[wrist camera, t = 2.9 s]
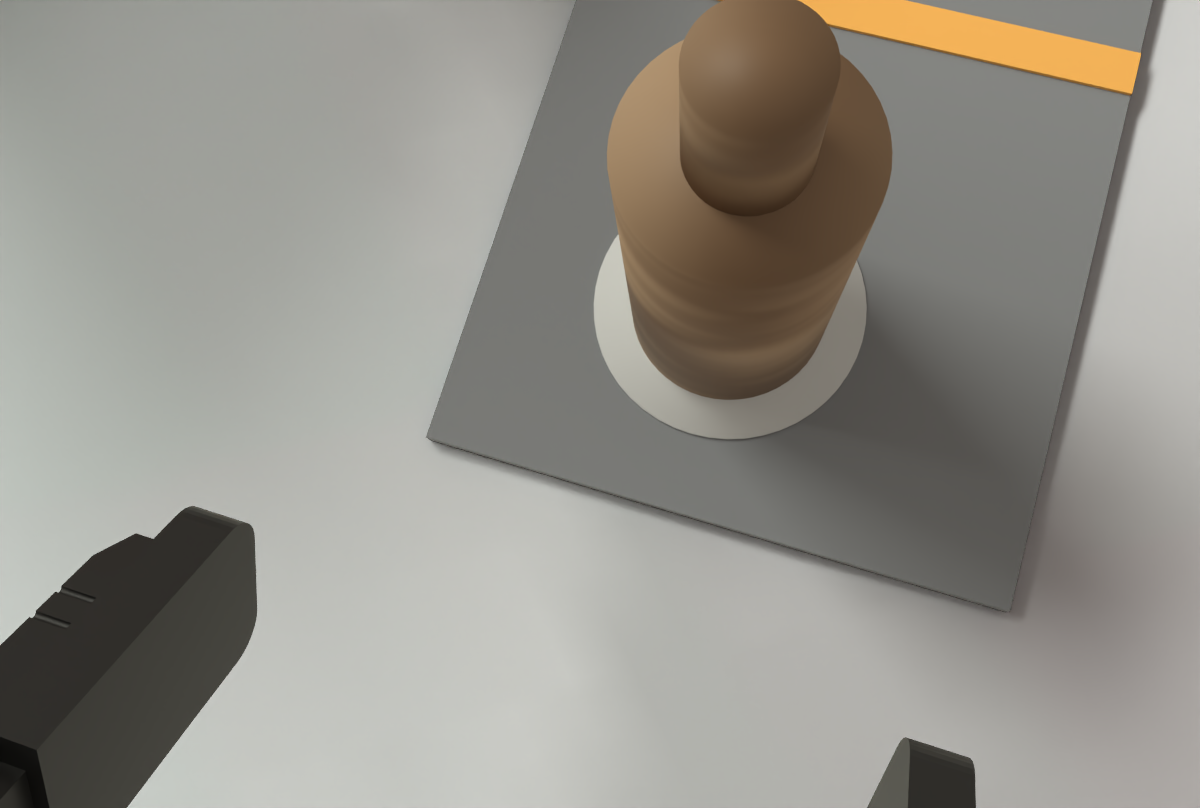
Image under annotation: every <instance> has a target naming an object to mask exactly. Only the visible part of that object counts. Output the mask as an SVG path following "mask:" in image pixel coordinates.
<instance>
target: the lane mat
mask: <svg viewBox="0 0 1200 808" xmlns="http://www.w3.org/2000/svg"><path fill="white" fill-rule="evenodd" d="M721 1H723V0H576V2H575V5H574V8H573V11H572V14H571V17H570V20H569V23H568V26H567V29H566V31H565V34H564V37H563V40H562V43H561V46H560V49H559V52H558V55H557V58H556V61H555V63H554V66H553V69H552V72H551V75H550V78H549V81H548V84H547V87H546V90H545V93H544V96H543V98H542V101H541V104H540V107H539V110H538V113H537V116H536V119H535V122H534V125H533V128H532V130H531V133H530V136H529V139H528V142H527V145H526V148H525V151H524V154H523V157H522V160H521V163H520V165H519V168H518V171H517V174H516V177H515V180H514V183H513V186H512V189H511V192H510V195H509V197H508V200H507V203H506V206H505V209H504V212H503V215H502V218H501V221H500V224H499V227H498V230H497V232H496V235H495V238H494V241H493V244H492V247H491V250H490V253H489V256H488V259H487V262H486V264H485V267H484V270H483V273H482V276H481V279H480V282H479V285H478V288H477V291H476V294H475V297H474V299H473V302H472V305H471V308H470V311H469V314H468V317H467V320H466V323H465V326H464V329H463V331H462V334H461V337H460V340H459V343H458V346H457V349H456V352H455V355H454V358H453V361H452V363H451V366H450V369H449V372H448V375H447V378H446V381H445V384H444V387H443V390H442V393H441V396H440V398H439V401H438V404H437V407H436V410H435V413H434V416H433V419H432V422H431V425H430V428H429V430H428V433H427V436H426V438H428V439H429V440H431V441H435V442H438V443H441V444H445V445H448V446H451V447H455V448H458V449H461V450H465V451H468V452H471V453H475V454H478V455H481V456H485V457H488V458H492V459H495V460H498V461H502V462H505V463H508V464H512V465H515V466H518V467H522V468H525V469H528V470H532V471H535V472H538V473H542V474H545V475H548V476H552V477H555V478H558V479H562V480H565V481H568V482H572V483H575V484H578V485H582V486H585V487H589V488H592V489H595V490H599V491H602V492H605V493H609V494H612V495H615V496H619V497H622V498H625V499H629V500H632V501H635V502H639V503H642V504H645V505H649V506H652V507H655V508H659V509H662V510H665V511H669V512H672V513H676V514H679V515H682V516H686V517H689V518H692V519H696V520H699V521H702V522H706V523H709V524H712V525H716V526H719V527H722V528H726V529H729V530H732V531H736V532H739V533H742V534H746V535H749V536H752V537H756V538H759V539H762V540H766V541H769V542H773V543H776V544H779V545H783V546H786V547H789V548H793V549H796V550H799V551H803V552H806V553H809V554H813V555H816V556H819V557H823V558H826V559H829V560H833V561H836V562H839V563H843V564H846V565H849V566H853V567H856V568H860V569H863V570H866V571H870V572H873V573H876V574H880V575H883V576H886V577H890V578H893V579H896V580H900V581H903V582H906V583H910V584H913V585H916V586H920V587H923V588H926V589H930V590H933V591H936V592H940V593H943V594H947V595H950V596H953V597H957V598H960V599H963V600H967V601H970V602H973V603H977V604H980V605H983V606H987V607H990V608H993V609H997V610H1000V611H1003V612H1010V610H1011V605H1012V601H1013V597H1014V593H1015V588H1016V584H1017V580H1018V575H1019V571H1020V567H1021V563H1022V558H1023V554H1024V550H1025V545H1026V541H1027V537H1028V533H1029V528H1030V524H1031V520H1032V515H1033V511H1034V507H1035V503H1036V498H1037V494H1038V490H1039V486H1040V481H1041V477H1042V473H1043V468H1044V464H1045V460H1046V456H1047V451H1048V447H1049V443H1050V438H1051V434H1052V430H1053V426H1054V421H1055V417H1056V413H1057V408H1058V404H1059V400H1060V396H1061V391H1062V387H1063V383H1064V378H1065V374H1066V370H1067V366H1068V361H1069V357H1070V353H1071V348H1072V344H1073V340H1074V336H1075V331H1076V327H1077V323H1078V318H1079V314H1080V310H1081V306H1082V301H1083V297H1084V293H1085V288H1086V284H1087V280H1088V276H1089V271H1090V267H1091V263H1092V258H1093V254H1094V250H1095V246H1096V241H1097V237H1098V233H1099V228H1100V224H1101V220H1102V216H1103V211H1104V207H1105V203H1106V198H1107V194H1108V190H1109V186H1110V181H1111V177H1112V173H1113V168H1114V164H1115V160H1116V156H1117V151H1118V147H1119V143H1120V138H1121V134H1122V130H1123V126H1124V121H1125V117H1126V113H1127V108H1128V104H1129V100H1130V96H1131V94H1132V92H1133V87H1134V83H1135V79H1136V75H1137V70H1138V66H1139V62H1140V57H1141V48H1142V44H1143V40H1144V36H1145V31H1146V27H1147V23H1148V18H1149V14H1150V10H1151V6H1152V1H1153V0H798V1H800V2H802V3H804V4H806V5H807V6H809V7H810V8H812V9H813V10H814V11H815V12H817V13H818V14H819V15H820V16H821V17H822V18H823V19H824V20H825V22H826V23H827V24H828V26H829V27H830V29H831V31H832V32H833V34H834V36H835V39H836V41H837V44H838V47H839V52H840V54H841V55H843V56H844V57H845V58H846V59H848V60H849V61H850V62H851V63H852V64H853V65H854V66H855V67H856V68H857V69H858V70H859V71H860V72H861V73H862V74H863V76H864V77H865V78H866V80H867V81H868V82H869V84H870V85H871V86H872V88H873V90H874V91H875V93H876V95H877V97H878V98H879V100H880V102H881V104H882V107H883V110H884V112H885V115H886V117H887V121H888V125H889V129H890V133H891V141H892V152H893V154H892V171H891V176H890V181H889V186H888V189H887V192H886V195H885V198H884V201H883V204H882V206H881V208H880V210H879V212H878V215H877V217H876V219H875V221H874V224H873V226H872V228H871V230H870V232H869V235H868V237H867V239H866V241H865V243H864V246H863V248H862V250H861V252H860V254H859V257H858V259H857V261H856V263H855V266H854V268H853V270H852V272H851V274H850V277H849V279H848V281H847V283H846V285H845V288H844V290H843V292H842V294H841V296H840V299H839V301H838V303H837V305H836V308H835V310H834V312H833V314H832V316H831V319H830V321H829V323H828V325H827V327H826V330H825V332H824V334H823V336H822V338H821V341H820V343H819V345H818V347H817V349H816V351H815V353H814V354H813V356H812V357H811V358H810V360H809V361H808V363H807V364H806V365H805V366H804V367H803V368H802V369H801V371H800V372H799V373H798V374H796V375H795V376H794V377H793V378H792V379H790V380H789V381H788V382H786V383H785V384H783V385H781V386H780V387H778V388H776V389H774V390H772V391H770V392H768V393H765V394H762V395H759V396H755V397H751V398H746V399H738V400H722V399H713V398H708V397H703V396H700V395H697V394H694V393H691V392H689V391H687V390H685V389H683V388H681V387H679V386H677V385H676V384H674V383H673V382H671V381H670V380H669V379H667V378H666V377H665V376H664V375H663V374H662V373H660V372H659V371H658V370H657V368H656V367H655V366H654V365H653V364H652V363H651V362H650V360H649V359H648V357H647V356H646V354H645V352H644V351H643V349H642V347H641V345H640V343H639V340H638V338H637V335H636V331H635V328H634V323H633V317H632V311H631V305H630V299H629V293H628V287H627V282H626V276H625V270H624V264H623V258H622V252H621V246H620V240H619V235H618V229H617V223H616V217H615V211H614V205H613V199H612V194H611V188H610V182H609V176H608V170H607V146H608V137H609V132H610V128H611V124H612V120H613V117H614V115H615V112H616V110H617V107H618V105H619V103H620V101H621V99H622V97H623V96H624V94H625V92H626V90H627V89H628V87H629V86H630V85H631V83H632V82H633V81H634V79H635V78H636V77H637V75H638V74H639V73H640V72H641V71H642V70H643V69H644V68H645V67H646V66H647V65H648V64H649V63H650V62H651V61H652V60H654V59H655V58H656V57H657V56H659V55H660V54H661V53H662V52H664V51H665V50H667V49H668V48H670V47H672V46H673V45H675V44H677V43H678V42H680V41H682V40H684V39H685V37H686V35H687V33H688V32H689V30H690V28H691V27H692V25H693V24H694V23H695V22H696V20H697V19H698V18H699V17H700V16H701V15H702V14H703V13H705V12H706V11H707V10H708V9H710V8H711V7H712V6H714V5H716V4H717V3H719V2H721Z"/></svg>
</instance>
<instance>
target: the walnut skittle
mask: <svg viewBox="0 0 1200 808" xmlns="http://www.w3.org/2000/svg"><path fill="white" fill-rule="evenodd" d="M892 154H893V152H892V141H891V133H890V129H889V125H888V121H887V117H886V115H885V112H884V110H883V107H882V104H881V102H880V100H879V98H878V97H877V95H876V93H875V91H874V90H873V88H872V86H871V85H870V84H869V82H868V81H867V80H866V78H865V77H864V76H863V74H862V73H861V72H860V71H859V70H858V69H857V68H856V67H855V66H854V65H853V64H852V63H851V62H850V61H849V60H848V59H846V58H845V57H844V56H843V55H841V54H840V52H839V47H838V44H837V41H836V39H835V36H834V34H833V32H832V31H831V29H830V27H829V26H828V24H827V23H826V22H825V20H824V19H823V18H822V17H821V16H820V15H819V14H818V13H817V12H815V11H814V10H813V9H812V8H810V7H809V6H807V5H806V4H804V3H802V2H800V1H798V0H723V1H721V2H719V3H717V4H716V5H714V6H712V7H711V8H710V9H708V10H707V11H706V12H705V13H703V14H702V15H701V16H700V17H699V18H698V19H697V20H696V22H695V23H694V24H693V25H692V27H691V28H690V30H689V32H688V33H687V35H686V37H685V39H684V40H682V41H680V42H678V43H677V44H675V45H673V46H672V47H670V48H668V49H667V50H665V51H664V52H662V53H661V54H660V55H659V56H657V57H656V58H655V59H654V60H652V61H651V62H650V63H649V64H648V65H647V66H646V67H645V68H644V69H643V70H642V71H641V72H640V73H639V74H638V75H637V77H636V78H635V79H634V81H633V82H632V83H631V85H630V86H629V87H628V89H627V90H626V92H625V94H624V96H623V97H622V99H621V101H620V103H619V105H618V107H617V110H616V112H615V115H614V117H613V120H612V124H611V128H610V132H609V137H608V146H607V170H608V176H609V182H610V188H611V194H612V199H613V205H614V211H615V217H616V223H617V229H618V235H619V240H620V246H621V252H622V258H623V264H624V270H625V276H626V282H627V287H628V293H629V299H630V305H631V311H632V317H633V323H634V328H635V331H636V335H637V338H638V340H639V343H640V345H641V347H642V349H643V351H644V352H645V354H646V356H647V357H648V359H649V360H650V362H651V363H652V364H653V365H654V366H655V367H656V368H657V370H658V371H659V372H660V373H662V374H663V375H664V376H665V377H666V378H667V379H669V380H670V381H671V382H673V383H674V384H676V385H677V386H679V387H681V388H683V389H685V390H687V391H689V392H691V393H694V394H697V395H700V396H703V397H708V398H713V399H722V400H738V399H746V398H751V397H755V396H759V395H762V394H765V393H768V392H770V391H772V390H774V389H776V388H778V387H780V386H781V385H783V384H785V383H786V382H788V381H789V380H790V379H792V378H793V377H794V376H795V375H796V374H798V373H799V372H800V371H801V369H802V368H803V367H804V366H805V365H806V364H807V363H808V361H809V360H810V358H811V357H812V356H813V354H814V353H815V351H816V349H817V347H818V345H819V343H820V341H821V338H822V336H823V334H824V332H825V330H826V327H827V325H828V323H829V321H830V319H831V316H832V314H833V312H834V310H835V308H836V305H837V303H838V301H839V299H840V296H841V294H842V292H843V290H844V288H845V285H846V283H847V281H848V279H849V277H850V274H851V272H852V270H853V268H854V266H855V263H856V261H857V259H858V257H859V254H860V252H861V250H862V248H863V246H864V243H865V241H866V239H867V237H868V235H869V232H870V230H871V228H872V226H873V224H874V221H875V219H876V217H877V215H878V212H879V210H880V208H881V206H882V204H883V201H884V198H885V195H886V192H887V189H888V186H889V181H890V176H891V171H892Z"/></svg>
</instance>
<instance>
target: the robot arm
mask: <svg viewBox="0 0 1200 808" xmlns="http://www.w3.org/2000/svg"><path fill="white" fill-rule="evenodd" d="M256 616H257V593H256V564H255V537H254V531H253V528H252V526H251V525H250V524H248V523H245V522H242V521H239V520H236V519H232V518H229V517H226V516H223V515H220V514H217V513H214V512H211V511H208V510H204V509H201V508H198V507H195V506H191V507H188V508H185V509H184V510H182V511H181V512H180V513H179V514H178V515H177V516H176V517H175V518H174V519H173V520H172V521H171V522H170V523H169V524H168V525H167V526H166V527H165V528H164V529H163V530H162V531H161V532H160V533H159V534H158V535H157V536H156V537H155V538H154V539H151V538H148V537H145V536H142V535H139V534H134V535H132V536H130V537H128V538H126V539H124V540H122V541H120V542H118V543H116V544H114V545H112V546H110V547H108V548H107V549H105V550H103V551H101V552H99V553H97V554H95V555H93V556H92V557H91V558H90V559H89V560H88V561H87V562H86V563H85V564H84V565H83V566H82V567H81V568H80V569H79V570H77V571H76V572H75V573H74V574H73V575H72V576H71V577H70V578H69V579H68V580H67V581H66V582H65V583H64V584H63V585H62V588H61V590H60V592H59V593H57V592H55V593H54V594H53V595H52V596H51V597H50V598H49V599H48V600H47V601H46V602H45V603H43V604H42V605H41V606H40V607H39V608H38V609H37V610H36V614H35V616H34V617H33V618H30V617H29V618H28V619H27V620H26V621H25V622H24V623H23V624H22V625H21V626H20V627H19V628H18V629H17V630H16V631H15V632H14V633H13V634H12V635H11V636H9V637H8V638H7V639H6V640H5V641H4V642H3V643H2V644H1V645H0V808H127V807H128V805H129V804H130V803H131V801H132V800H133V799H134V797H135V796H136V795H137V793H138V792H139V791H140V789H141V788H142V787H143V785H144V784H145V783H146V782H147V780H148V779H149V778H150V776H151V775H152V774H153V772H154V771H155V770H156V768H157V767H158V766H159V764H160V763H161V762H162V760H163V759H164V758H165V757H166V755H167V754H168V753H169V751H170V750H171V749H172V747H173V746H174V745H175V743H176V742H177V741H178V739H179V738H180V737H181V735H182V734H183V733H184V731H185V730H186V729H187V728H188V726H189V725H190V724H191V722H192V721H193V720H194V718H195V717H196V716H197V714H198V713H199V712H200V710H201V709H202V708H203V706H204V705H205V704H206V703H207V701H208V700H209V699H210V697H211V696H212V695H213V693H214V692H215V691H216V689H217V688H218V687H219V685H220V684H221V683H222V681H223V680H224V679H225V678H226V676H227V675H228V674H229V672H230V671H231V670H232V668H233V667H234V666H235V664H236V663H237V662H238V660H239V659H240V657H241V656H242V654H243V652H244V651H245V649H246V647H247V645H248V643H249V640H250V638H251V635H252V632H253V629H254V626H255V621H256ZM867 808H976V798H975V769H974V764H973V761H972V760H971V759H970V758H968V757H965V756H962V755H959V754H956V753H952V752H949V751H946V750H943V749H940V748H937V747H934V746H931V745H928V744H924V743H921V742H918V741H915V740H912V739H909V738H903V739H902V740H901V742H900V743H899V745H898V747H897V749H896V751H895V753H894V755H893V757H892V759H891V761H890V763H889V765H888V767H887V769H886V771H885V773H884V775H883V777H882V779H881V781H880V783H879V785H878V787H877V789H876V791H875V793H874V795H873V797H872V799H871V801H870V803H869V805H868V807H867Z"/></svg>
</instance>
